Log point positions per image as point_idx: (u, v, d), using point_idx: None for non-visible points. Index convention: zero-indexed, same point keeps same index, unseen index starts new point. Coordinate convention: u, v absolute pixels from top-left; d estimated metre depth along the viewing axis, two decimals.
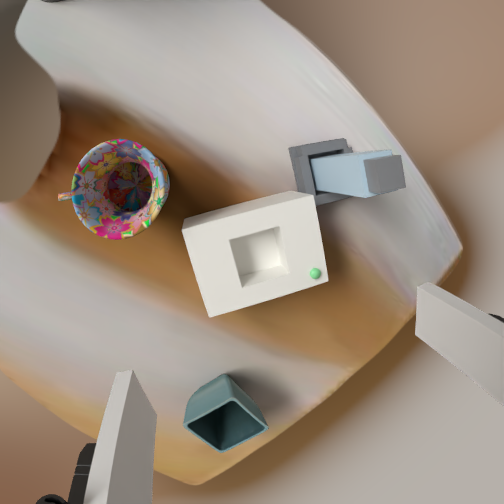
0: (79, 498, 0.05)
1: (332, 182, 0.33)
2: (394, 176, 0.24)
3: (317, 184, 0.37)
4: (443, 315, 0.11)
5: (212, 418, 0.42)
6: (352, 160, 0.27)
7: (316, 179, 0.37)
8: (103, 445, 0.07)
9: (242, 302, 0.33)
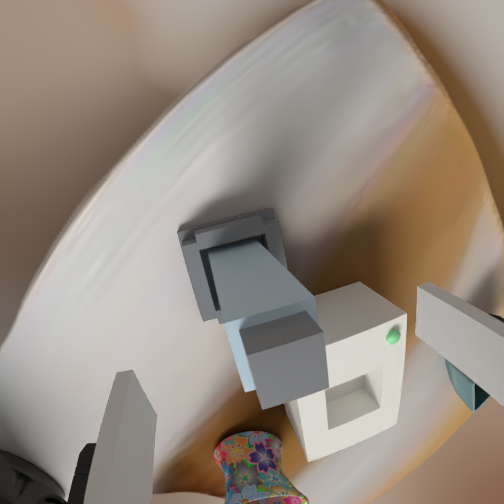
0: (79, 498, 0.05)
1: None
2: (298, 365, 0.11)
3: None
4: (443, 315, 0.11)
5: None
6: None
7: None
8: (103, 445, 0.07)
9: (394, 402, 0.24)
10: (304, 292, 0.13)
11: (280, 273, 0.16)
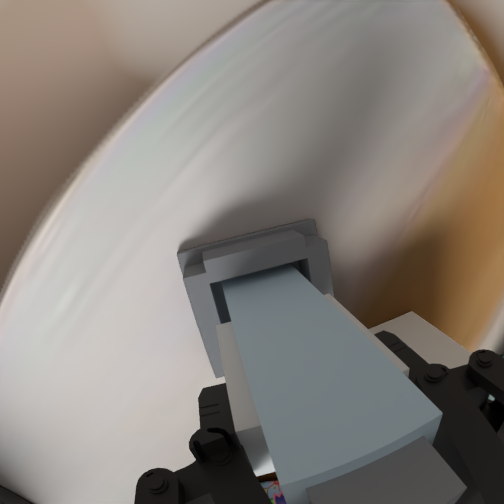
0: None
1: None
2: None
3: None
4: None
5: None
6: None
7: None
8: (233, 379, 0.10)
9: None
10: (420, 400, 0.06)
11: (357, 346, 0.09)
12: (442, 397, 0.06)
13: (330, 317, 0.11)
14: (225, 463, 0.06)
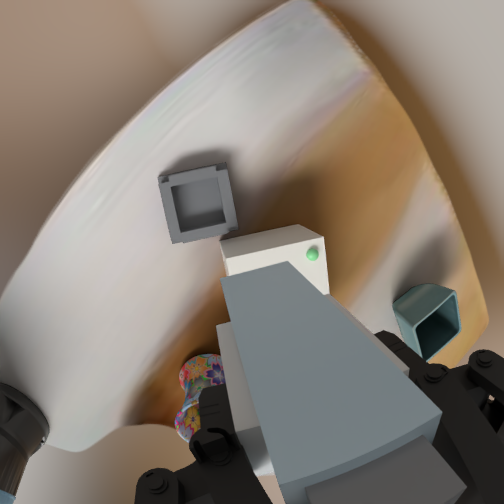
0: None
1: None
2: None
3: None
4: None
5: (429, 321, 0.43)
6: None
7: None
8: (233, 379, 0.10)
9: None
10: (420, 400, 0.06)
11: (356, 345, 0.09)
12: (442, 397, 0.06)
13: (329, 316, 0.11)
14: (225, 463, 0.06)
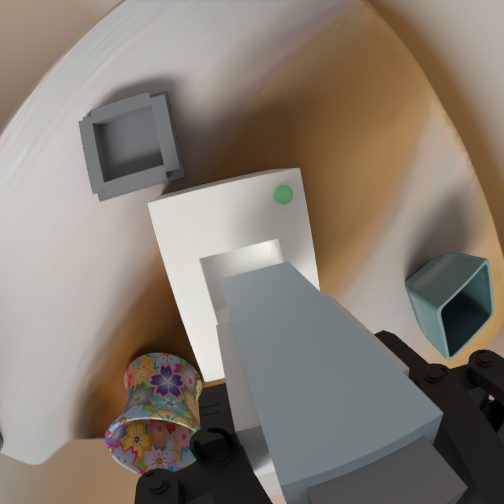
0: None
1: None
2: None
3: None
4: None
5: (452, 304, 0.32)
6: None
7: None
8: (233, 379, 0.10)
9: None
10: (421, 400, 0.06)
11: (357, 346, 0.09)
12: (442, 397, 0.06)
13: (330, 317, 0.11)
14: (225, 463, 0.06)
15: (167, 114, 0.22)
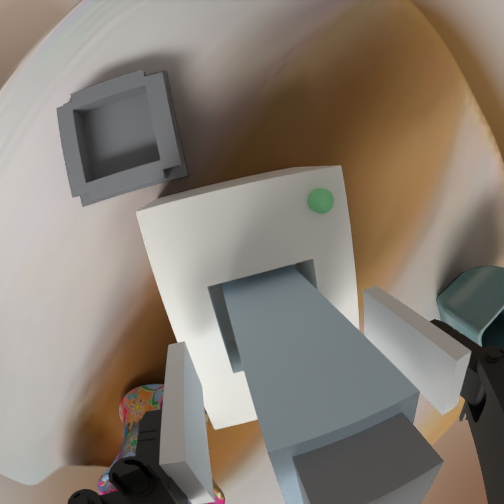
0: (146, 462, 0.07)
1: None
2: None
3: None
4: (385, 319, 0.12)
5: None
6: None
7: None
8: (170, 407, 0.09)
9: None
10: (399, 379, 0.07)
11: (343, 332, 0.10)
12: (498, 376, 0.06)
13: (319, 306, 0.12)
14: (147, 494, 0.05)
15: (165, 96, 0.17)
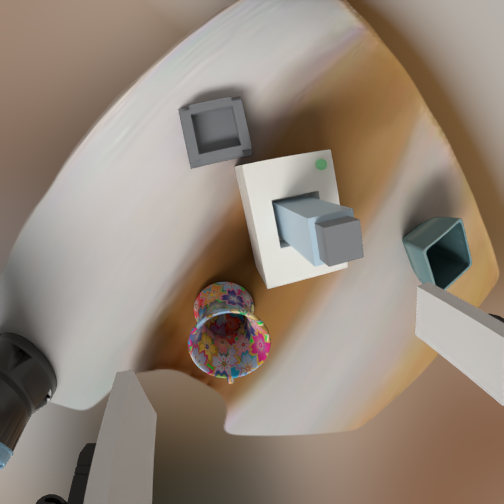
0: (79, 498, 0.05)
1: None
2: (347, 237, 0.22)
3: None
4: (443, 315, 0.11)
5: (440, 258, 0.43)
6: None
7: None
8: (103, 445, 0.07)
9: None
10: (346, 207, 0.24)
11: (329, 204, 0.27)
12: None
13: (321, 202, 0.29)
14: None
15: (243, 112, 0.34)
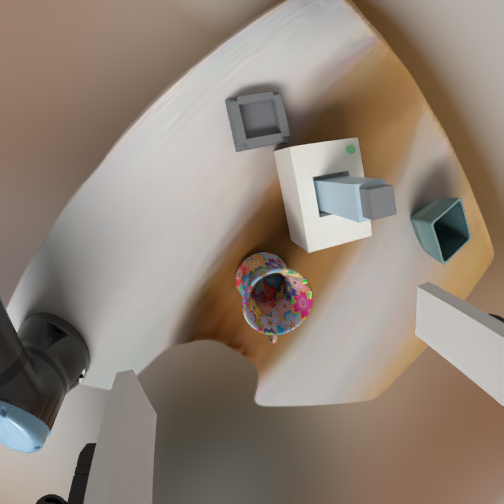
0: (79, 498, 0.05)
1: None
2: (385, 198, 0.28)
3: None
4: (443, 315, 0.11)
5: (443, 235, 0.50)
6: None
7: None
8: (103, 445, 0.07)
9: None
10: (380, 178, 0.30)
11: (363, 178, 0.33)
12: None
13: (354, 177, 0.35)
14: None
15: (283, 105, 0.40)
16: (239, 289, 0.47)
